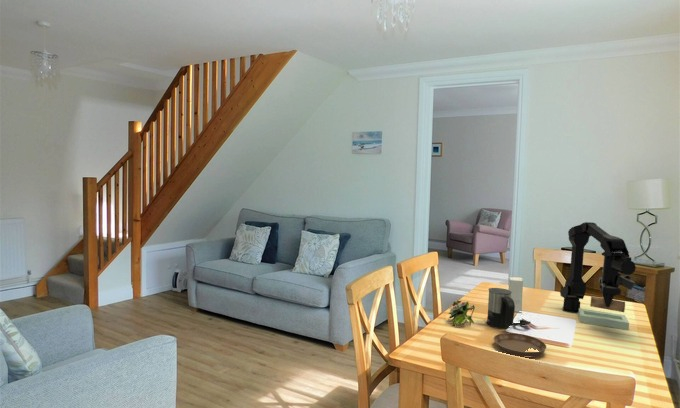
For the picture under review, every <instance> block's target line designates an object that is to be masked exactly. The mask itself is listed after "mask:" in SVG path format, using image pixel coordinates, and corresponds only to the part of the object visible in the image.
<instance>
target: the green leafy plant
mask: <svg viewBox="0 0 680 408" xmlns="http://www.w3.org/2000/svg"><path fill="white" fill-rule="evenodd" d="M469 305H470V303H469V301H467V300H466V301H465V302H464V301H463V302H462V300H457V301H453V304H452V308H450V309H449V312H448V315H450V316H449V317H448V319H452V320H451V325H452V326H454V325H455V326H457V325H463V324H464V323H465V322H466V321H469V326H471V325H472V324H474V323H475V321H474V320H473V318H472V316H473V313H474V311H475V309H476V307H475V305H474V304H472V305H470V306H469ZM469 311H471V314H470V315H468V312H469Z"/></svg>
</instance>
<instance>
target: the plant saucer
mask: <svg viewBox="0 0 680 408" xmlns="http://www.w3.org/2000/svg"><path fill="white" fill-rule="evenodd" d="M493 341H494V342H495V344H496V346H497V347H498V348H499V349H500V350H501V351H502V352H504V351H505V352H504V353H506V352H507V353H506V354H509V355H511V354H512V356H515V355H517V356H516V357H519V356H523V357H522V358H525V357H524V356H536V357H538V355H539V356H540V355H542V354H543V353H544V352H545V351H546V350H547V344H546V343H545V342H544V341H542V340H540V339H538V338H537V337H534V336H531V335H528V334H527V335H526V334H521V333H515V332H502V333H498V334H496V335H494V337H493ZM529 348H530V349H531V348H533V349H534V350H536V349H537V350H538V351H539V352H525V351H526V350H527V351H528V349H529Z"/></svg>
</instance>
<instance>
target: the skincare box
mask: <svg viewBox="0 0 680 408" xmlns="http://www.w3.org/2000/svg"><path fill="white" fill-rule="evenodd" d="M508 278H509V279H508V290H510V291H512V293H511V298H512V299H513V301H514V304H515V310H514V313H519V311H522V312H523V293H524V292H523V291H524V290H523V289H524V288H523V287H524V280H523V278H522V277H517V276H516V277H515V276H509V277H508Z"/></svg>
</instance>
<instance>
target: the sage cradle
mask: <svg viewBox="0 0 680 408" xmlns="http://www.w3.org/2000/svg"><path fill="white" fill-rule="evenodd" d="M577 315H578V320H579V323H583V324H590V325H596V326H602V327H607V328H608V327H609V328H613V329H621V330H625V331H626V330H627V331H629V327H630V322H629V320H628V319H627V317H626V315H625V314H621V313H620V314H619V313H613V312H607V311H606V312H605V311H601V310H594V309H587V308H581V307H580V308H579V312H578V313H577Z"/></svg>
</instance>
